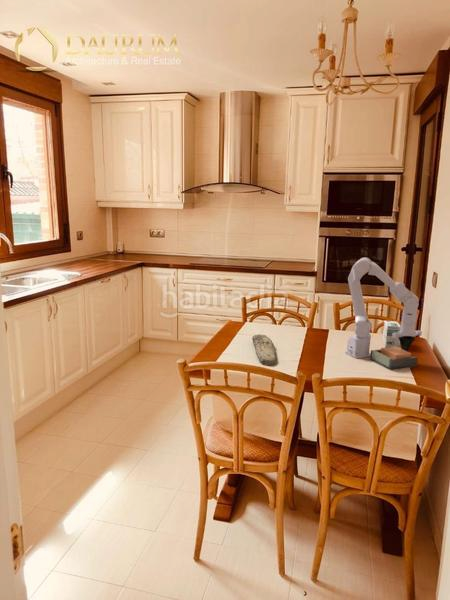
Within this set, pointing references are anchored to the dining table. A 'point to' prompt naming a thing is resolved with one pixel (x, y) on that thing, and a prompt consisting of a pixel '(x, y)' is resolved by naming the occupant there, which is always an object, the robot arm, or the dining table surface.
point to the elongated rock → (264, 349)
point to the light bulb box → (390, 334)
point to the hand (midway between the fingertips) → (404, 352)
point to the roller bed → (392, 361)
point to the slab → (395, 352)
